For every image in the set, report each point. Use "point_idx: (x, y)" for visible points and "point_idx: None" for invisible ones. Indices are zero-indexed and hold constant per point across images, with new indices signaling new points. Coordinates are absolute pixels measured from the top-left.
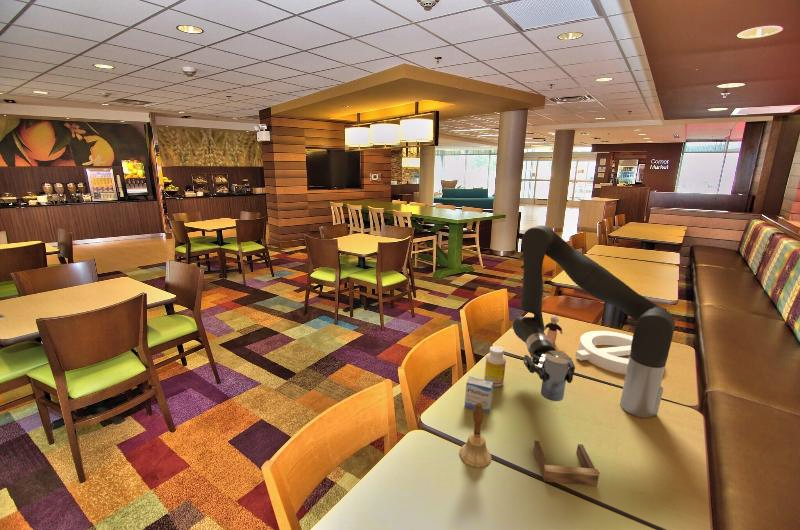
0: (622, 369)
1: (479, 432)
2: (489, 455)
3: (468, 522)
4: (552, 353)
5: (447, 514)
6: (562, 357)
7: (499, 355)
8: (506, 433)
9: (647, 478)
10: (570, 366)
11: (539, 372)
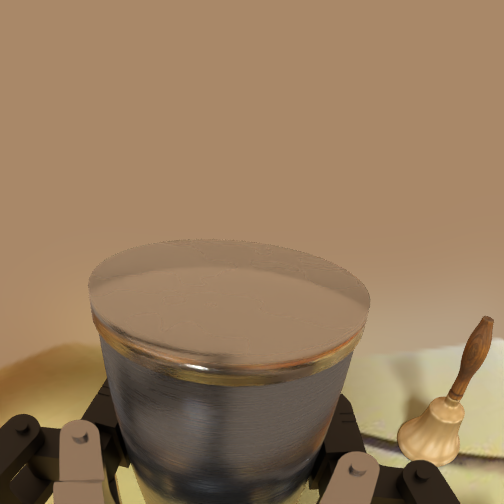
0: None
1: (452, 386)
2: (405, 436)
3: (400, 353)
4: (274, 303)
5: (425, 357)
6: (184, 262)
7: None
8: None
9: (68, 396)
10: (33, 441)
11: (355, 427)
